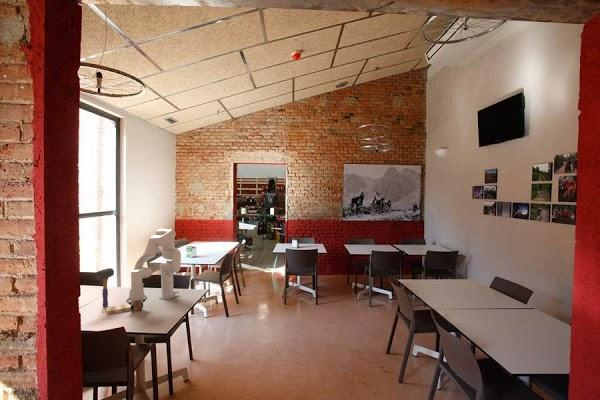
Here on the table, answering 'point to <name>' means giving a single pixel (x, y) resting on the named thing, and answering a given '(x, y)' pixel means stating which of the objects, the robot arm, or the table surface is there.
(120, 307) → the board
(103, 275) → the rubber mallet
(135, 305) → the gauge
